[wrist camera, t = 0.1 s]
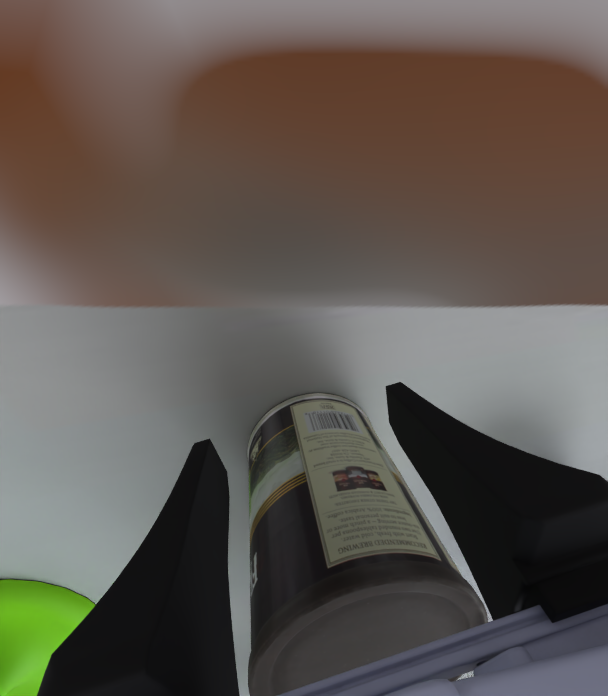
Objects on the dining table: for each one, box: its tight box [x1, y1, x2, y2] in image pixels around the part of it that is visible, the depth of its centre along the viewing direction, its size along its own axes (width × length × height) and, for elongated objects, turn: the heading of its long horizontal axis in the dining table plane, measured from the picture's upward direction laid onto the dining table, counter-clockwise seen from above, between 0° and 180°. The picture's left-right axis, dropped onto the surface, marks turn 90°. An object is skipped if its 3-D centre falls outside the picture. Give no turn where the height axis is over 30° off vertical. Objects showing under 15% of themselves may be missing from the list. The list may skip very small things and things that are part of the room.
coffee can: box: [247, 393, 488, 696], centre depth 20 cm, size 10×10×14 cm
